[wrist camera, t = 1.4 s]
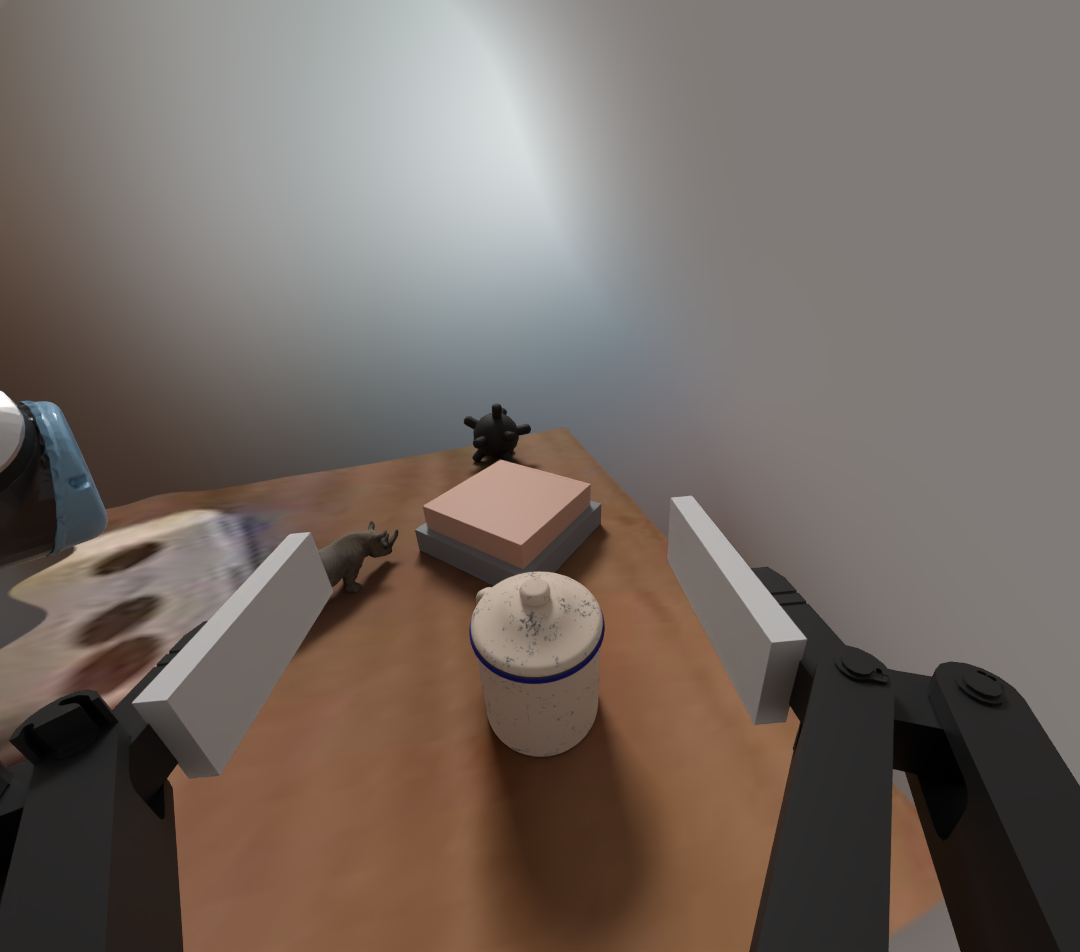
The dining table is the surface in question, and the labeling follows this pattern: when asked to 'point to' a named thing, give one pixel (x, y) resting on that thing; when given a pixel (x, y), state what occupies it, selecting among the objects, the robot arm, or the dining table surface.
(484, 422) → the toy ball
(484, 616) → the teacup with lid
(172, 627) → the dining table surface
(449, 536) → the brick plinth
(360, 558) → the rhino figurine
